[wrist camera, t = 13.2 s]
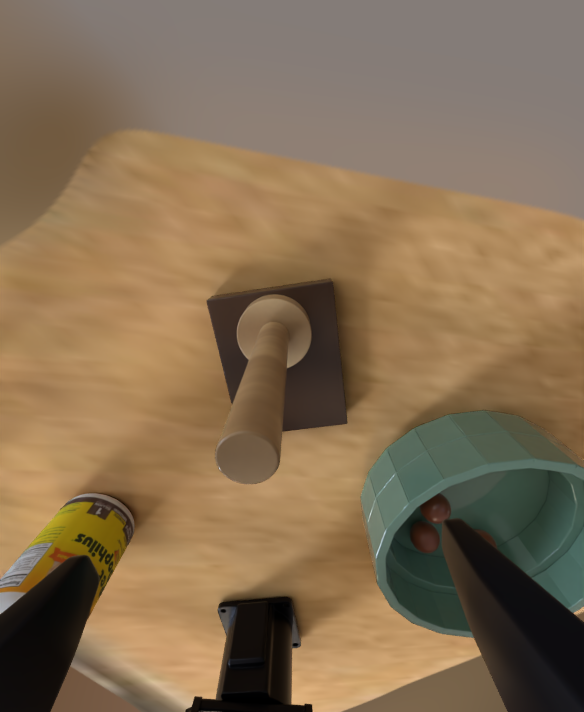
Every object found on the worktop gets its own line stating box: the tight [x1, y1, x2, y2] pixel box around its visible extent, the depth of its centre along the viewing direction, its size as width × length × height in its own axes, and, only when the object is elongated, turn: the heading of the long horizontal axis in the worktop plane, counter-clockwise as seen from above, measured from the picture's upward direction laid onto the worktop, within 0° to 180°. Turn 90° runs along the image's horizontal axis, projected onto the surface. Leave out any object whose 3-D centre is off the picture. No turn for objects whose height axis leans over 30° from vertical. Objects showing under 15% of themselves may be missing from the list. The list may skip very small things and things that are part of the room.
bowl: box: [361, 410, 584, 638], centre depth 21 cm, size 14×14×6 cm
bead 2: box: [410, 521, 440, 553], centre depth 23 cm, size 2×2×2 cm
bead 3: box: [474, 529, 497, 549], centre depth 23 cm, size 2×2×2 cm
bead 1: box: [419, 493, 451, 524], centre depth 22 cm, size 2×2×2 cm
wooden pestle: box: [215, 294, 312, 484], centre depth 13 cm, size 4×4×11 cm
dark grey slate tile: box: [207, 279, 347, 432], centre depth 20 cm, size 9×7×1 cm
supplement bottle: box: [0, 493, 135, 620], centre depth 20 cm, size 6×6×10 cm
